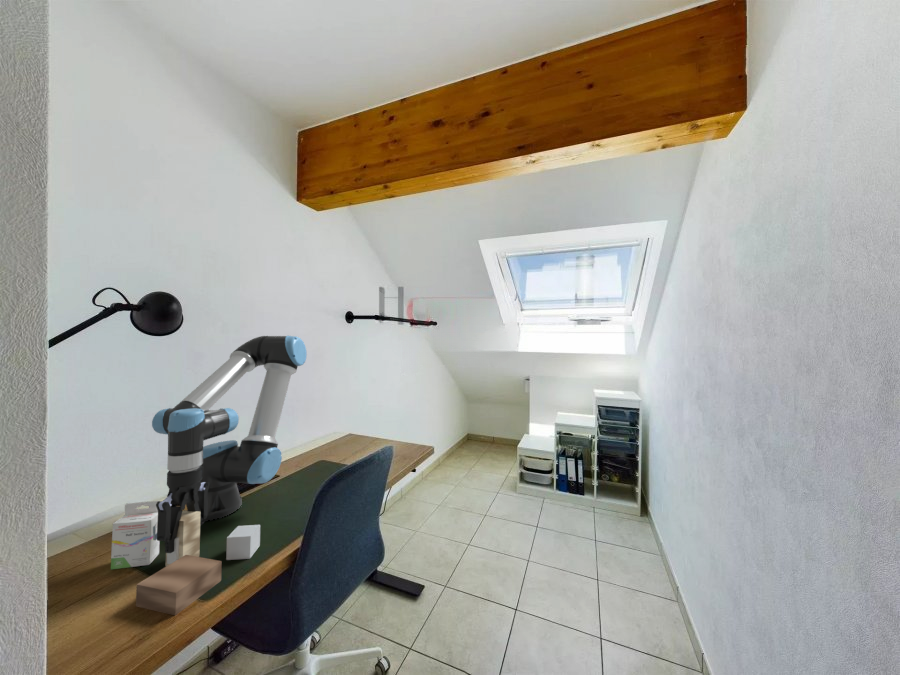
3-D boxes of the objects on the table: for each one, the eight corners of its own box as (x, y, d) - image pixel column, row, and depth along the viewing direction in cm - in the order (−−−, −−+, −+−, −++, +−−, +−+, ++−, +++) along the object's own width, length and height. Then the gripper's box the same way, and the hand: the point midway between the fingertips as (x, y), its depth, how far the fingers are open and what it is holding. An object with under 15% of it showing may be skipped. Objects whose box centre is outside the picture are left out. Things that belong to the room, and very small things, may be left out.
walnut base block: (185, 574, 85) (185, 554, 85) (221, 582, 82) (221, 561, 83) (135, 607, 74) (136, 584, 74) (175, 616, 72) (176, 592, 72)
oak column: (183, 554, 93) (184, 510, 93) (199, 556, 92) (200, 511, 92) (165, 566, 88) (166, 519, 88) (182, 568, 87) (183, 520, 87)
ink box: (108, 570, 86) (111, 511, 86) (122, 559, 91) (124, 503, 91) (149, 565, 88) (151, 507, 89) (160, 553, 93) (162, 499, 93)
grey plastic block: (237, 547, 96) (238, 525, 97) (259, 545, 97) (260, 524, 97) (226, 560, 90) (226, 537, 91) (250, 558, 91) (250, 536, 91)
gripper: (202, 456, 100) (200, 536, 99) (137, 480, 82) (134, 577, 81) (224, 457, 99) (222, 538, 98) (164, 482, 81) (161, 581, 80)
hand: (183, 556), depth 90 cm, fingers closed on oak column, 5 cm apart
